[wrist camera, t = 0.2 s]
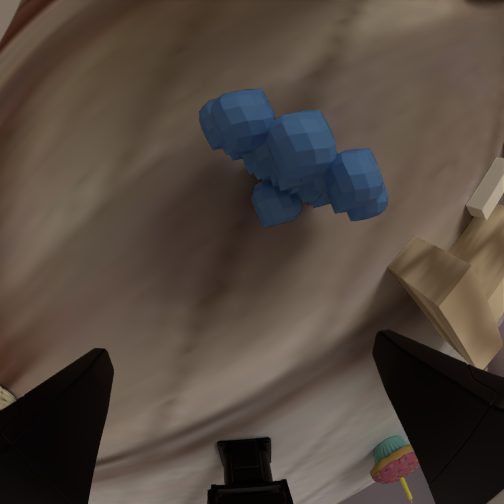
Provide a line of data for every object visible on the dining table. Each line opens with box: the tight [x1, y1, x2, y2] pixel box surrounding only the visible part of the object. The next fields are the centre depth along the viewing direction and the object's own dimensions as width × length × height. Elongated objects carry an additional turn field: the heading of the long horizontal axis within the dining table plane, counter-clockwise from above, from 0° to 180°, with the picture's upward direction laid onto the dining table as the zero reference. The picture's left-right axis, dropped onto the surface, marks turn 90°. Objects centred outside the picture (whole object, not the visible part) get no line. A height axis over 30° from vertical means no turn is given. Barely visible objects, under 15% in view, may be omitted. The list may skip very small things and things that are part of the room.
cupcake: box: [370, 436, 419, 503], centre depth 29 cm, size 9×8×12 cm
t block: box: [387, 204, 504, 370], centre depth 22 cm, size 14×14×8 cm
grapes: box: [199, 89, 388, 227], centre depth 16 cm, size 12×7×12 cm, turn 63°
